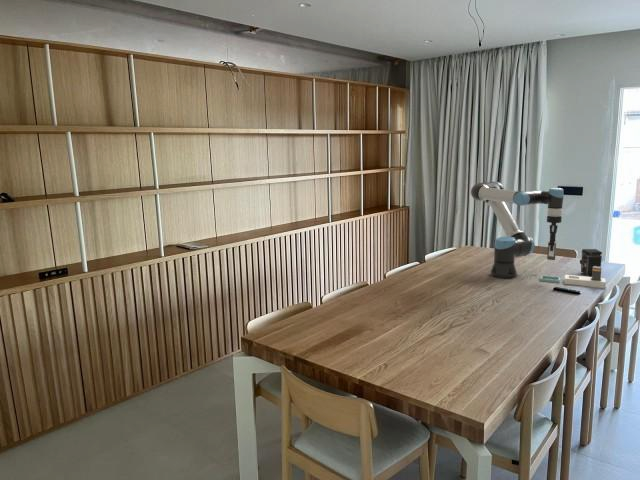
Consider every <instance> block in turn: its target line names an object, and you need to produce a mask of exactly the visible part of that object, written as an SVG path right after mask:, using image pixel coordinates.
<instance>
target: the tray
mask: <svg viewBox="0 0 640 480" xmlns="http://www.w3.org/2000/svg"><path fill="white" fill-rule="evenodd" d="M539 279H540V282H546V283H547V282H548V283H556V284H558V283H559V284H560V282H561V277H560V276H553V275H541V276H540V278H539Z"/></svg>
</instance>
